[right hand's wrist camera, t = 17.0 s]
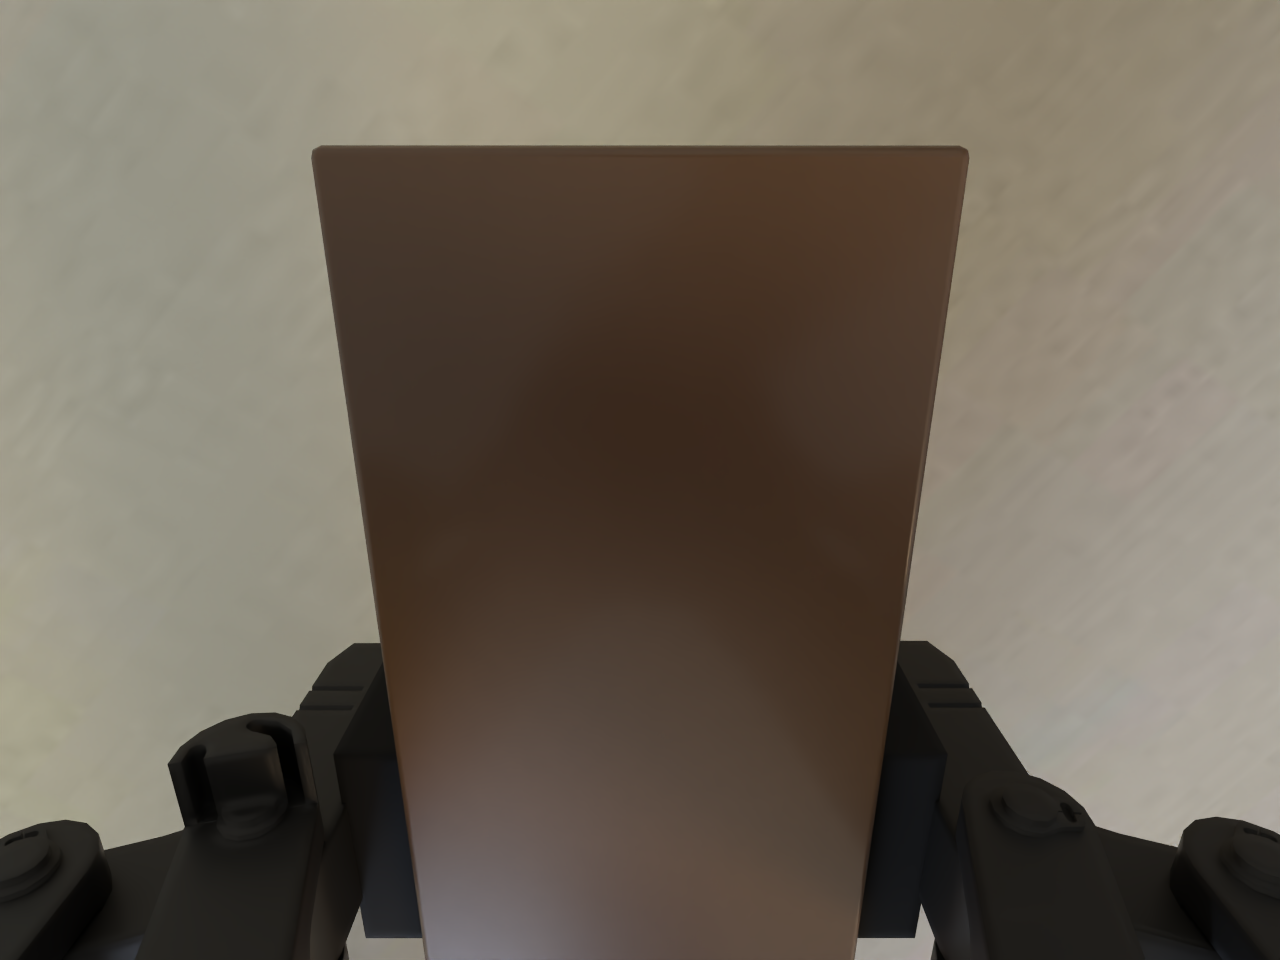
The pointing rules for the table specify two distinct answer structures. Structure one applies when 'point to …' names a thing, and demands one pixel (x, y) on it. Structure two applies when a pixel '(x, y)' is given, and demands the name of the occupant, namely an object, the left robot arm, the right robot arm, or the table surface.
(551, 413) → the beam
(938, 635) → the table surface
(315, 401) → the table surface
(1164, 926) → the right robot arm
